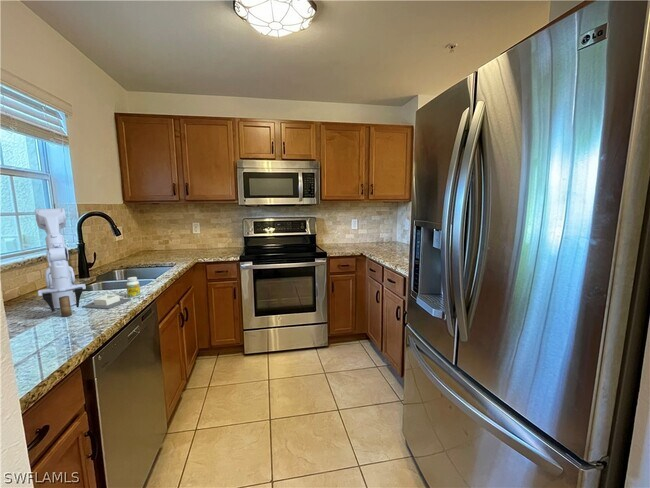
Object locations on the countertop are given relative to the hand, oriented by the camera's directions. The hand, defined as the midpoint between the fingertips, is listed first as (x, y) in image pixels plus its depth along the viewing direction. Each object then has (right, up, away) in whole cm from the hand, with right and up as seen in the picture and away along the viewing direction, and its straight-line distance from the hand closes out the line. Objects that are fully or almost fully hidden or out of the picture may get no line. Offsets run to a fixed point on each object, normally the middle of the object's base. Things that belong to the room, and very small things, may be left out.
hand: (65, 308), depth 123 cm
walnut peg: (0, -3, 0) cm, 3 cm away
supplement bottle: (+13, +1, +24) cm, 27 cm away
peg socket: (+7, -1, +14) cm, 16 cm away
